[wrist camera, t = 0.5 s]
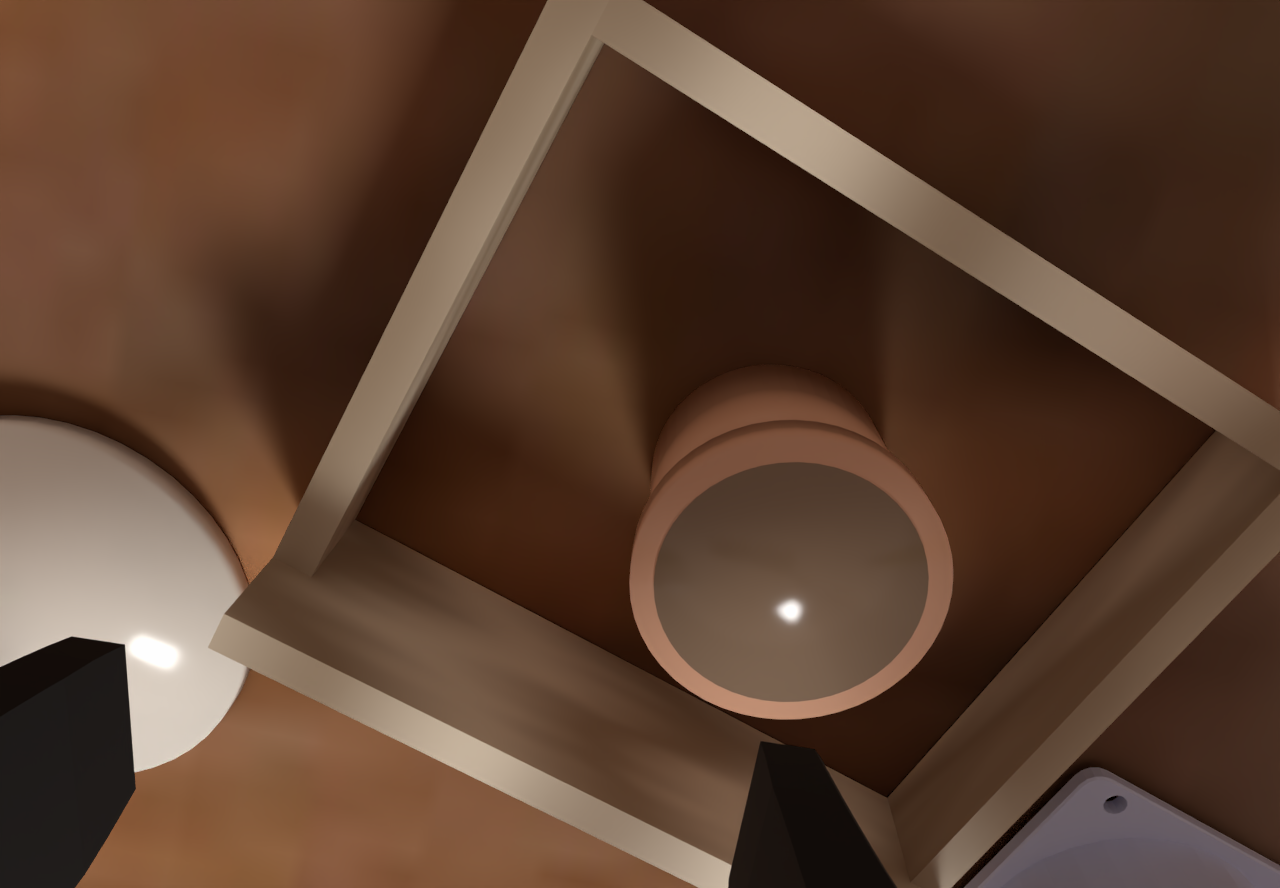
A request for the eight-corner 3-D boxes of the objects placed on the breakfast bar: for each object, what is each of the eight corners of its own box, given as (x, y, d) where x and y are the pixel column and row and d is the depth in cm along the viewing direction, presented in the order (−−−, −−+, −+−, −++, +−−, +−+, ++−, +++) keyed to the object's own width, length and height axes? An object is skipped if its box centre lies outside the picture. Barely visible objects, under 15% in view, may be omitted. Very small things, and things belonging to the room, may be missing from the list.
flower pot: (945, 436, 19) (1022, 542, 14) (800, 622, 21) (831, 767, 16) (727, 306, 18) (740, 377, 14) (597, 511, 20) (572, 632, 15)
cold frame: (1277, 416, 18) (1453, 516, 14) (894, 834, 22) (941, 1005, 18) (587, -28, 16) (551, -66, 12) (307, 530, 20) (207, 647, 16)
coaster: (315, 543, 20) (305, 556, 20) (177, 814, 23) (165, 832, 23) (-84, 337, 19) (-108, 345, 18) (-175, 652, 22) (-198, 667, 21)
